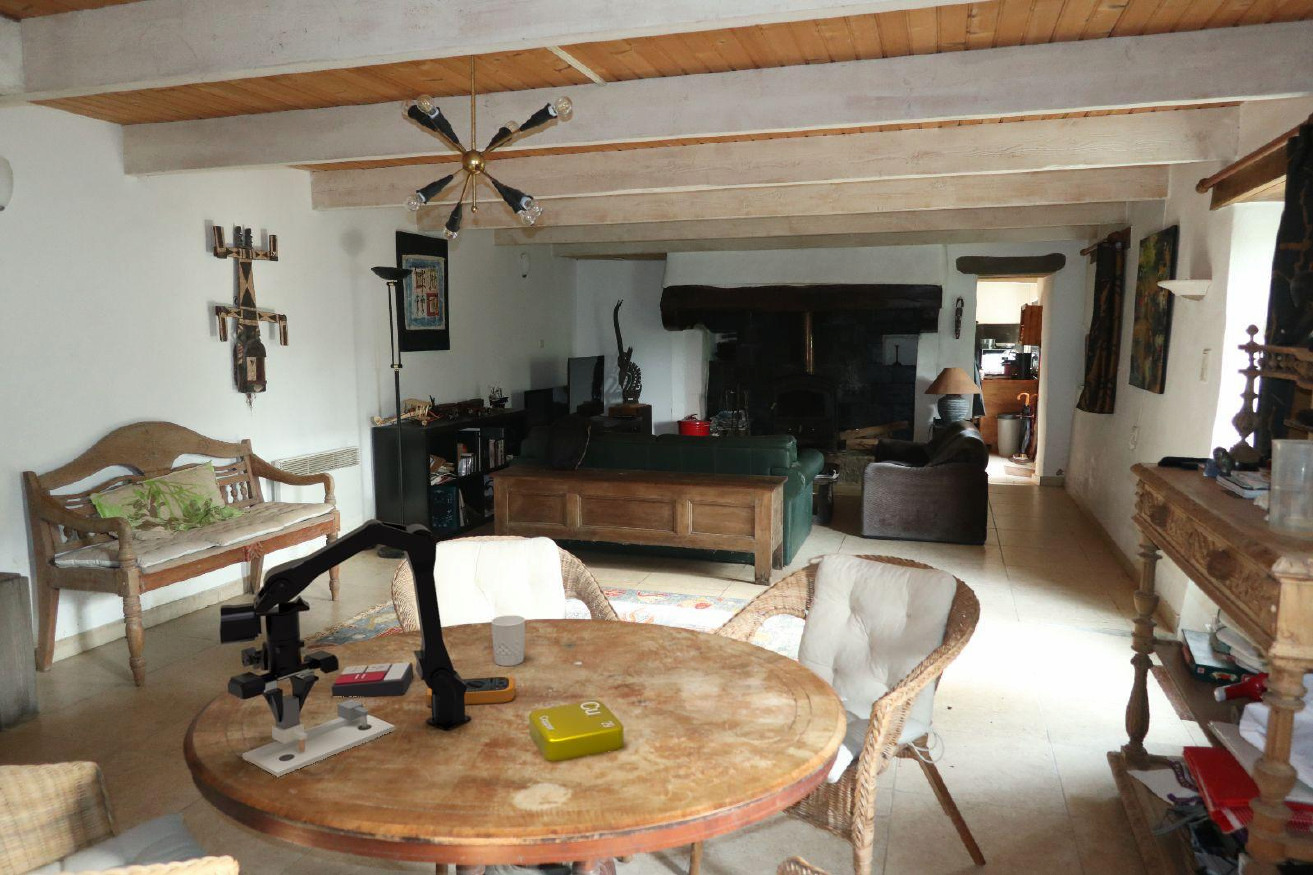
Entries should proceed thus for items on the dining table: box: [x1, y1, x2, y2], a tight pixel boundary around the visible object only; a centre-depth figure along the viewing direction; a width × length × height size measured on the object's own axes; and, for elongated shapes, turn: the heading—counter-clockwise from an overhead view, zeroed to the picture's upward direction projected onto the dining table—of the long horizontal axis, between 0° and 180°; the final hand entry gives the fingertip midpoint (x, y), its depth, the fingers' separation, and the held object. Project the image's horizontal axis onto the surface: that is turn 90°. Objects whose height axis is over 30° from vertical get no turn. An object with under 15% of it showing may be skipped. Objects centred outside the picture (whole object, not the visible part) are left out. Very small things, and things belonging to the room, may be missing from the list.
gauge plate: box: [241, 698, 396, 778], centre depth 166 cm, size 12×24×5 cm, turn 142°
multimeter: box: [426, 675, 516, 708], centre depth 188 cm, size 9×18×3 cm, turn 98°
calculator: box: [331, 661, 415, 698], centre depth 195 cm, size 11×4×15 cm
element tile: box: [528, 699, 625, 762], centre depth 168 cm, size 15×15×5 cm
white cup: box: [490, 614, 526, 667], centre depth 210 cm, size 8×8×10 cm
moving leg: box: [271, 693, 307, 751], centre depth 163 cm, size 7×4×8 cm, turn 52°
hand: (287, 718), depth 164 cm, fingers closed on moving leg, 3 cm apart
